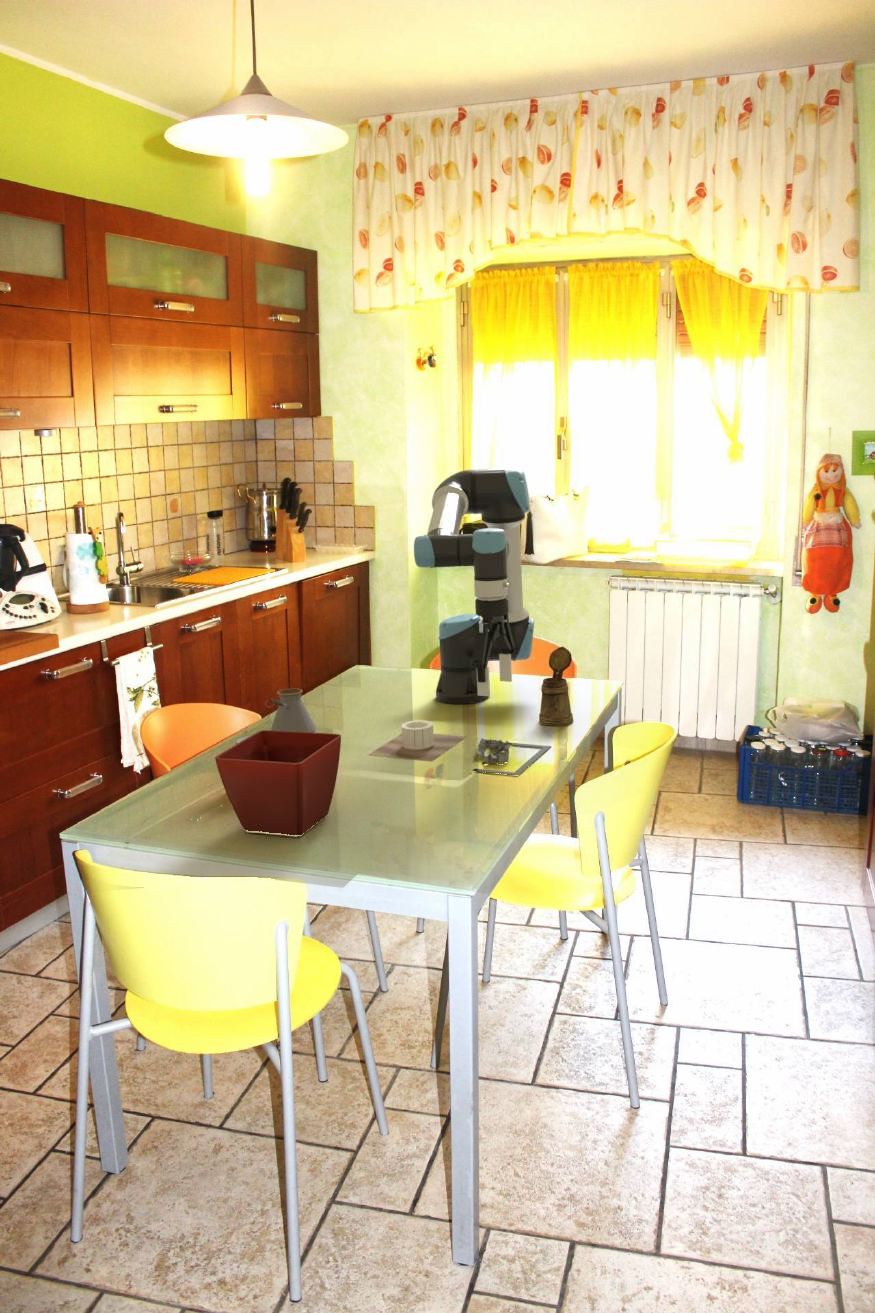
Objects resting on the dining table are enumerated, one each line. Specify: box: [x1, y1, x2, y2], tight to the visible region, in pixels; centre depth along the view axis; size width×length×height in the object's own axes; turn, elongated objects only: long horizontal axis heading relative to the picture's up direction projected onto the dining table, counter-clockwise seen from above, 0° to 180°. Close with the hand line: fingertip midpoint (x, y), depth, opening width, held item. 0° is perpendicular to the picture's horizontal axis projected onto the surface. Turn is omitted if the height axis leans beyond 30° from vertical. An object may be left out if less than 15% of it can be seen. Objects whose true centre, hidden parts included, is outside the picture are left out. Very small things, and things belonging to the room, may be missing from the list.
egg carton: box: [476, 737, 511, 765], centre depth 259 cm, size 11×8×4 cm
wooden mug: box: [538, 645, 574, 727], centre depth 286 cm, size 9×14×18 cm, turn 159°
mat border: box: [472, 742, 552, 776], centre depth 259 cm, size 22×19×1 cm
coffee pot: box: [264, 687, 317, 733], centre depth 275 cm, size 21×12×15 cm, turn 169°
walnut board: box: [367, 733, 467, 762], centre depth 268 cm, size 20×17×1 cm
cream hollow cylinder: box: [401, 720, 434, 750], centre depth 267 cm, size 8×8×5 cm
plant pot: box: [214, 729, 342, 835], centre depth 222 cm, size 19×19×17 cm
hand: (495, 688), depth 255 cm, fingers open, 13 cm apart
